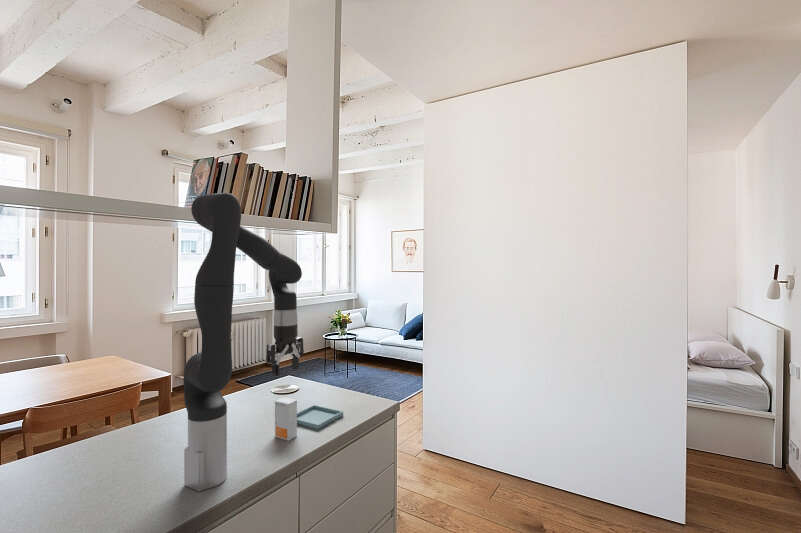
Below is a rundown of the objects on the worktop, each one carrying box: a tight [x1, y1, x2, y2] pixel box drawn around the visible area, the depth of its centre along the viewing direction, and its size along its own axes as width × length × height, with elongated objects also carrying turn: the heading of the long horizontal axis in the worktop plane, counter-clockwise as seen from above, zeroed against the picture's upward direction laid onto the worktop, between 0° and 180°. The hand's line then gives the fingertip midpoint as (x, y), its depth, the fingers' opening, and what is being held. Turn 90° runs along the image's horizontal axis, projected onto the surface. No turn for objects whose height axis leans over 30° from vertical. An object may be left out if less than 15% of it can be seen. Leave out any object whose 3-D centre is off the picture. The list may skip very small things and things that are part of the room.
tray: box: [297, 404, 344, 431], centre depth 145 cm, size 14×14×2 cm
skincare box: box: [274, 397, 298, 442], centre depth 130 cm, size 6×4×12 cm
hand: (285, 372), depth 130 cm, fingers open, 8 cm apart
